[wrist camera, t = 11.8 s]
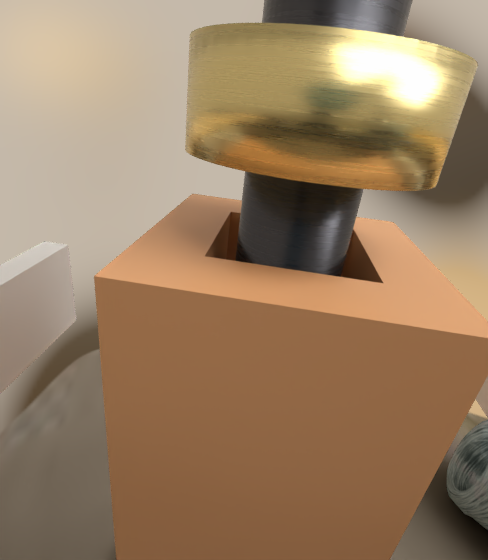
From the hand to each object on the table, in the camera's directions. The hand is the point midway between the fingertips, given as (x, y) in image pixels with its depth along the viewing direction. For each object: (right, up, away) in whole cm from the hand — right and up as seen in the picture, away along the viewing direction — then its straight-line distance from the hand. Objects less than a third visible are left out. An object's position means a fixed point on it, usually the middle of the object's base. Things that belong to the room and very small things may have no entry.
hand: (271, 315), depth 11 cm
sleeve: (-1, -5, -1) cm, 6 cm away
